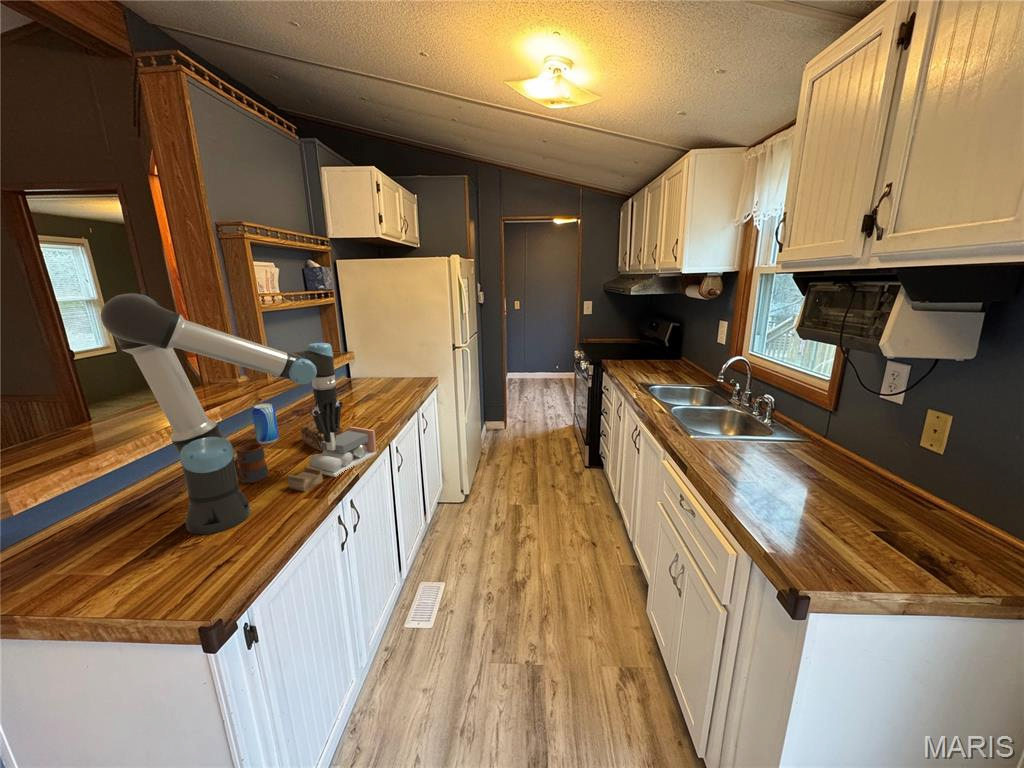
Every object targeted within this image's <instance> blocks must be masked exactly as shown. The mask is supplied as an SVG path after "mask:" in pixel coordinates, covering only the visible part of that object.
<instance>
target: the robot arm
mask: <svg viewBox="0 0 1024 768" xmlns="http://www.w3.org/2000/svg"><path fill="white" fill-rule="evenodd" d="M100 319H101V323H102V325H103V326H104V328H105V329H106V331H108V332H109V333H110V334H111V335H113V336H114V338H115V340H116V342H117V344H118V346H119V347H120V350H121V351H123V352H126V353H128V354H130V355H132V357H133V359H134V360H135V362H136V364H137V366H138V367H139V369H140V371H141V373H142V375H143V377H144V379H145V381H146V382H147V384H148V386H149V388H150V390H151V391H152V393H153V396H154V397H155V399H156V401H157V403H158V405H159V406H160V408H161V410H162V412H163V413H164V416H165V417H166V419H167V422H168V423H169V425H170V427H171V429H172V431H173V433H172V435H171V437H170V440H171V443H172V444H173V447H174V448H175V450H176V452H177V454H178V455H179V463H180V465H181V466H182V471H183V476H184V481H185V487H186V491H187V495H188V501H189V502H188V507H187V511H186V517H185V528H186V530H187V531H188V533H190V534H194V535H209V534H215V533H216V534H217V533H219V532H224V531H225V530H229V529H232V528H233V527H236V526H237V525H239V524H241V523H243V522H244V521H245V520H246V519H247V518H248V517H249V516H250V514H251V507H250V503H249V501H248V500H247V498H246V496H245V495H244V493H243V492H242V490H241V489H240V484H239V478H238V477H237V472H236V466H235V461H234V460H235V455H234V454H235V450H234V448H233V445H232V443H231V441H230V440H228V439H227V438H226V437H225V436H224V435H223V433H222V431H221V429H220V426H219V425H218V423H217V421H216V420H212V419H209V418H208V416H207V414H206V412H205V410H204V407H203V406H202V404H201V402H200V400H199V398H198V396H197V394H196V392H195V390H194V387H193V385H192V384H191V382H190V379H189V378H188V376H187V374H186V372H185V370H184V368H183V366H182V364H181V362H180V360H179V358H178V356H177V354H176V352H175V349H179V350H182V351H185V352H189V353H192V354H197V355H200V356H204V357H207V358H211V359H214V360H219V361H222V362H225V363H229V364H233V365H236V366H239V367H244V368H247V369H250V370H254V371H257V372H261V373H264V374H269V375H271V376H272V377H275V378H277V377H278V378H281V379H286V380H289V381H292V382H294V383H295V384H299V385H308V384H310V383H311V385H312V388H313V389H312V391H313V392H312V393H313V398H314V401H315V405H314V408H313V409H311V410H310V411H309V413H310V415H312V417H313V421H314V420H315V423H316V426H317V429H318V432H319V433H321V434H324V437H325V442H326V444H327V450H332V451H333V450H335V449H336V445H335V439H336V435H335V432H337V431H338V430H336V429H337V428H339V427H340V426H341V414H342V407H343V402H342V401H339V400H338V399H337V396H338V392H337V387H336V385H337V383H336V373H335V362H334V354H333V348H332V345H331V344H330V343H327V342H314V343H310V344H308V345H307V349H306V350H301V351H300V350H299V351H291V352H290V351H289V352H285V351H282V350H278V349H276V348H273V347H270V346H266V345H263V344H260V343H257V342H255V341H251V340H247V339H245V338H242V337H239V336H235V335H233V334H229V333H227V332H224V331H220V330H218V329H214V328H211V327H209V326H205V325H203V324H202V325H201V324H198V323H196V322H193V321H190V320H186V319H185V318H184V316H183V315H182V314H180V313H178V312H174V311H172V310H169V309H166V308H165V307H163V306H161V305H160V304H159V303H158V302H157V301H156V300H154V299H153V298H151V297H149V296H147V295H144V294H141V293H140V294H139V293H136V292H135V293H134V292H129V293H122V294H118V295H115V296H114V297H111V298H110V299H109V300H108V301H107V302H105V304H104V305H103V306H102V309H101V311H100ZM174 348H175V349H174Z"/></svg>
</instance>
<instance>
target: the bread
mask: <svg viewBox="0 0 1024 768" xmlns="http://www.w3.org/2000/svg"><path fill="white" fill-rule="evenodd" d="M336 430H338V431H337V432H335V435H336V436H337V435H339V434H341V433H343V432H345V431H344V428H343V427H342V426H341V425H340V427H339V428H337V429H336ZM300 433H301V438H302V442H303V443H304V444H306V445H308V446H309V447H311V448H313V449H315V450H317V451H318V452H321V453H323V451H324V450H323V447H322V442H323V441H325V437H324V434H321V433H319V432H318V429H317V426H316V423H315V420H314V419H313V420H311V421H307V422H306V423H305V424H304V425H302V427H301V429H300Z"/></svg>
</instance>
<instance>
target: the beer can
mask: <svg viewBox="0 0 1024 768" xmlns="http://www.w3.org/2000/svg"><path fill="white" fill-rule="evenodd" d="M251 413H252V415H251V416H252V420H253V427H254V434H255V440H256V441H257V443H259V444H262V445H267V444H268V445H269V444H273V443H275V442H277V441H278V439H279V438H280V435H279V427H278V422H277V415H276V414H277V413H276V409H275V407H274V406H273V404H272V403H259V404H257V405H254V406H253V410H252V412H251Z"/></svg>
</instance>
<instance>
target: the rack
mask: <svg viewBox="0 0 1024 768" xmlns="http://www.w3.org/2000/svg"><path fill="white" fill-rule="evenodd" d="M303 469H304V471H302V472H300V473H298V474H296V475H295V474H294V475H292V474H287V476H286V477H287V483H288V488H289V489H293V490H297V491H302V492H307V491H309V490H310V489H312V488H314V487H317V485H319V484H321V483H322V482H324V480H323V474H322V470H321V469H317V468H312V467H311V466H307V465H306V466H304V468H303Z"/></svg>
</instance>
